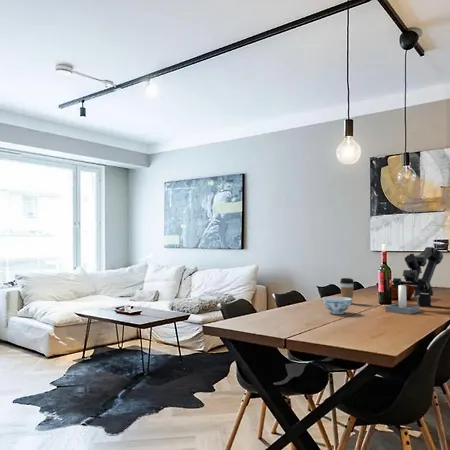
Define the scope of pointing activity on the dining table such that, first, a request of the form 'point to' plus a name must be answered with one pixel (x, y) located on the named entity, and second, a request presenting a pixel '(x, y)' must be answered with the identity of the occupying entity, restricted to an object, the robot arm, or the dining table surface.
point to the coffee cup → (347, 288)
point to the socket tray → (402, 309)
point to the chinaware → (337, 304)
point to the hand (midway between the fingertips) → (406, 295)
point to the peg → (402, 296)
